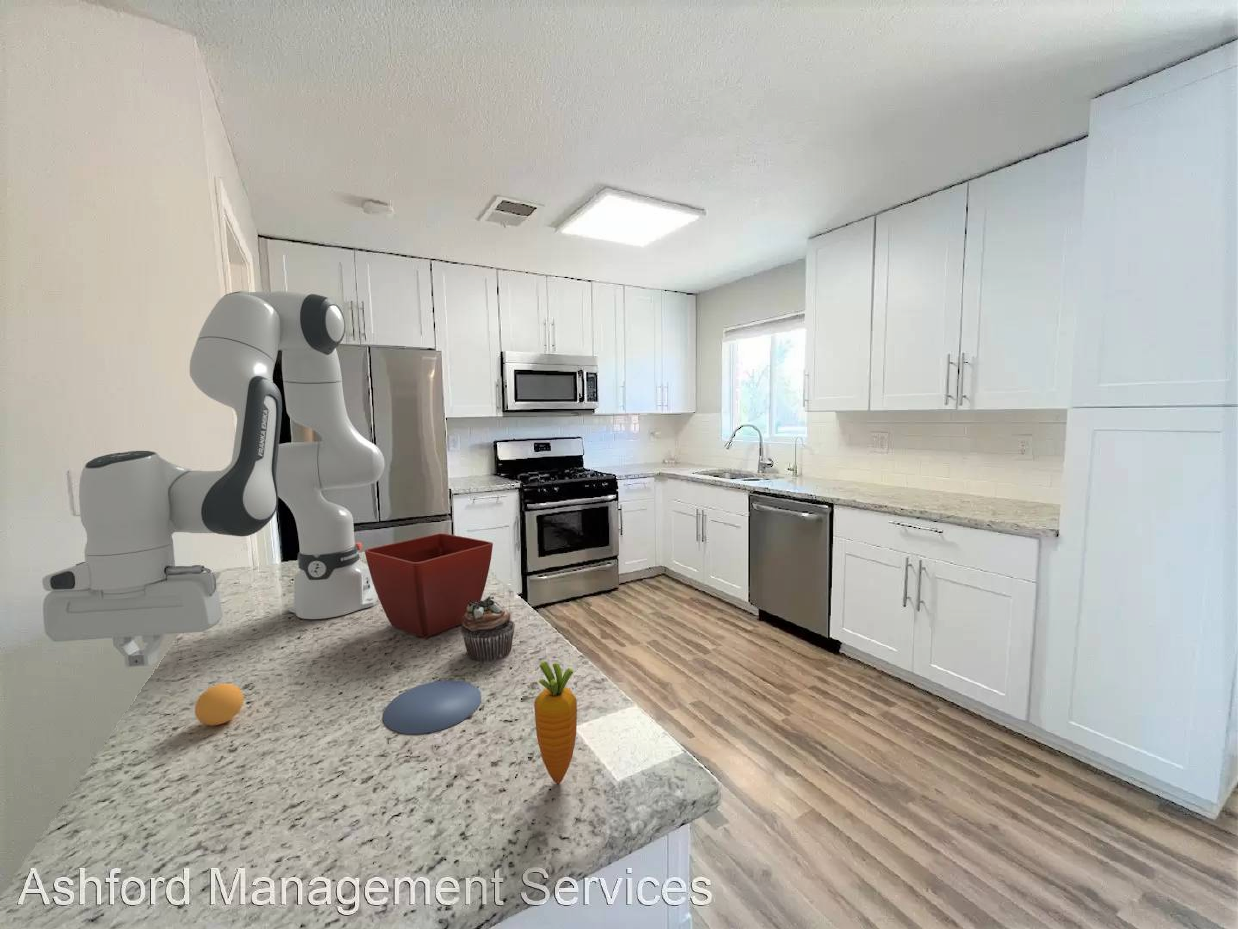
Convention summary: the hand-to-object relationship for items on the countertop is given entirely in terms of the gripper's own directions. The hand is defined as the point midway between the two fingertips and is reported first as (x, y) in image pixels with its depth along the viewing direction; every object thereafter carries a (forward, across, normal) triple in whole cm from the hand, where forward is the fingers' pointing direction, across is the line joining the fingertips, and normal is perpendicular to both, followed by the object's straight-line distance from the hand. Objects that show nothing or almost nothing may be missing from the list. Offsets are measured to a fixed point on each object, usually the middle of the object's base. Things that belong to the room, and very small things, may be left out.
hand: (142, 664), depth 71 cm
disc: (+10, -39, 0) cm, 40 cm away
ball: (+7, -9, -1) cm, 12 cm away
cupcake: (+10, -45, -17) cm, 50 cm away
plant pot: (+9, -31, -34) cm, 47 cm away
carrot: (+11, -58, +19) cm, 62 cm away
